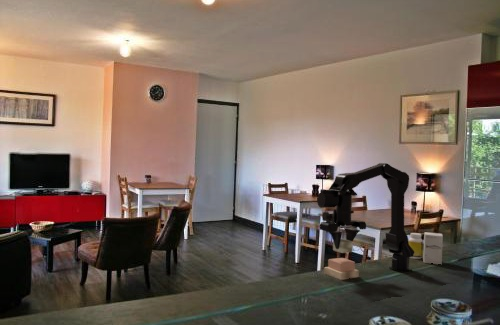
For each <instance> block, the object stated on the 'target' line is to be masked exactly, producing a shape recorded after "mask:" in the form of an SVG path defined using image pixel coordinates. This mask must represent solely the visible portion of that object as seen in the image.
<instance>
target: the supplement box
mask: <svg viewBox="0 0 500 325" xmlns="http://www.w3.org/2000/svg"><path fill="white" fill-rule="evenodd" d="M443 239H444V236H443V233H437V232H429V231H428V232H426V231H425V232H424V236H423V254H422V261H423V263H424V264H431V263H433V265H438V264H441V265H442V262H443V261H442V260H443V242H444V240H443ZM441 265H440V266H441Z"/></svg>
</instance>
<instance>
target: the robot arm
mask: <svg viewBox="0 0 500 325" xmlns="http://www.w3.org/2000/svg"><path fill="white" fill-rule="evenodd" d="M378 176H379V177H380V176H381V177H382V178H383V179H384V180H386V185H387V188H388V191H389V192H390V200H391V201H390V203H391V205H390V206H391V207H390V209H391V210H390V214H391V215H390V217H391V218H390V230H389V232H385V241H384V243H386V247H387V248H388V251H389V254H390V253H391V254H392V258H391V266H389V267H388V269H389V270H392V271H396V272H400V273H405V272H410V271H413V269H412V268H410V258H409V257H413V255H414V250H413V249H412V248H411V247H410V245H409V236H408V235H407V232H406V231H405V194H406V193H407V190H408V189H409V183H410V176H409V175H408V173H407V172H405V171H402V170H400V169H398V168H395V167H393V166H392V165H390V164H389V163H385V162H384V163H383V162H382V163H381V162H379V163H377V164H376V165H373V166H369V167H366V168H364V169H360V170H358V171H355V172H345V173H337V175H336V176H335V178H334V180H333V182H332V184H331V186H329V188H328V189H324V188H322V189H319V190H320V192H319V193H318V195H317V197H316V204H317V205H318V207H319V208H321V209H322V208H323V209H325V208H326V209H327V208H334V209H333V210H332V213H330V212H329V211H324V212H322V215H321V219H322V222H320V223H319V230H321V231H324V232H327V233H329V234H330V236H331V238H332V240H333V241H334V244H335V248H336V249H339V245H340V240H341V239H342V235H343V231H340V229H344V231H345V235H346V236H345V239H346V240H349V241H352V243H353V242H354V239H355V238H356V236H357V235H358V233H359V232H361V230H366V229H367V224H366V222H365V221H364V220H360V219H352V214H355V211H354V210H352V208H353V207H352V206H353V201H352V200H353V197H355V196H358V193H357V192H356V191H355V190H354V189H355V188H356V187H358V186H359V184H361V183H363V182H365V181H368V180H370V179H373V178H376V177H378ZM335 208H336V209H335ZM358 228H359V229H358Z"/></svg>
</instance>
